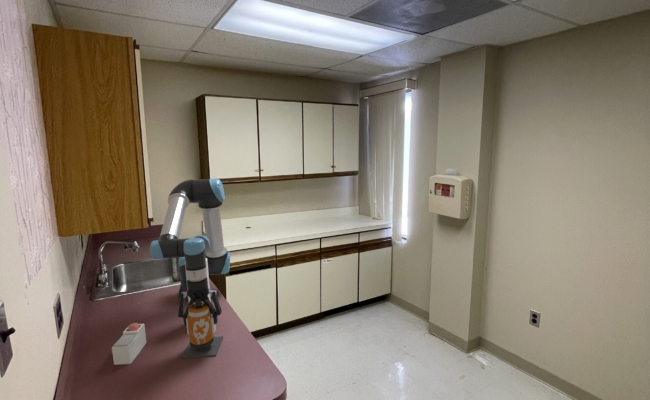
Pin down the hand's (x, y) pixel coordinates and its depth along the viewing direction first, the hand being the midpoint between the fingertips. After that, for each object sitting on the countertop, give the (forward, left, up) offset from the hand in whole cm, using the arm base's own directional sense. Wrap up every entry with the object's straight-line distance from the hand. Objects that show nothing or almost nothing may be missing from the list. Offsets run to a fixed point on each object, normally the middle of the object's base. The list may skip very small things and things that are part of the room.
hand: (201, 331), depth 138 cm
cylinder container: (-21, -7, -7) cm, 23 cm away
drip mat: (0, 0, -7) cm, 7 cm away
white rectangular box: (+1, -28, -7) cm, 28 cm away
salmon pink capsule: (-3, -28, -5) cm, 28 cm away
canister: (0, 0, -5) cm, 5 cm away
